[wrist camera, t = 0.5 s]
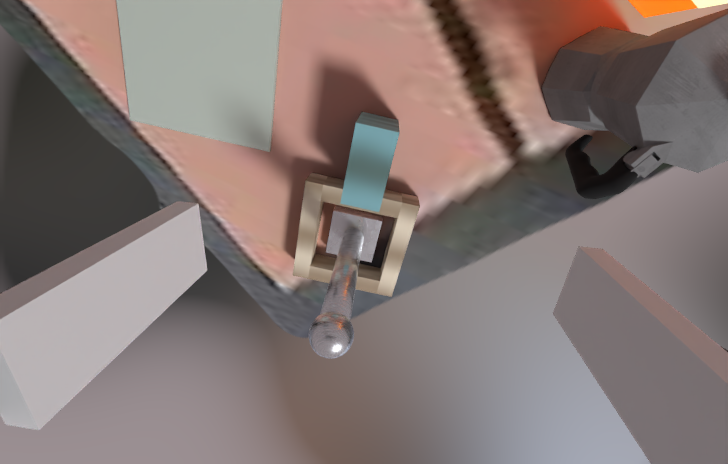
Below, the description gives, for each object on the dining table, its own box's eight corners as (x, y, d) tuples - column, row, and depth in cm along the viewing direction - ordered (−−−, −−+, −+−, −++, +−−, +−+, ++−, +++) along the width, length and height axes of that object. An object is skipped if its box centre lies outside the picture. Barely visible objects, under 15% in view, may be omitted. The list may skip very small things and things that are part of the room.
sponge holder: (321, 102, 36) (306, 110, 30) (438, 129, 36) (448, 143, 30) (298, 262, 46) (283, 294, 39) (391, 283, 46) (391, 317, 40)
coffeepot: (621, -21, 29) (895, -115, 13) (683, 53, 31) (984, 47, 16) (488, 123, 36) (567, 175, 20) (548, 176, 38) (662, 263, 22)
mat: (107, -115, 29) (102, -118, 29) (288, -71, 30) (286, -73, 29) (133, 119, 38) (130, 120, 38) (270, 150, 39) (269, 151, 38)
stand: (335, 205, 41) (292, 313, 24) (382, 216, 41) (375, 331, 24) (327, 246, 44) (284, 370, 27) (372, 256, 44) (358, 385, 27)
